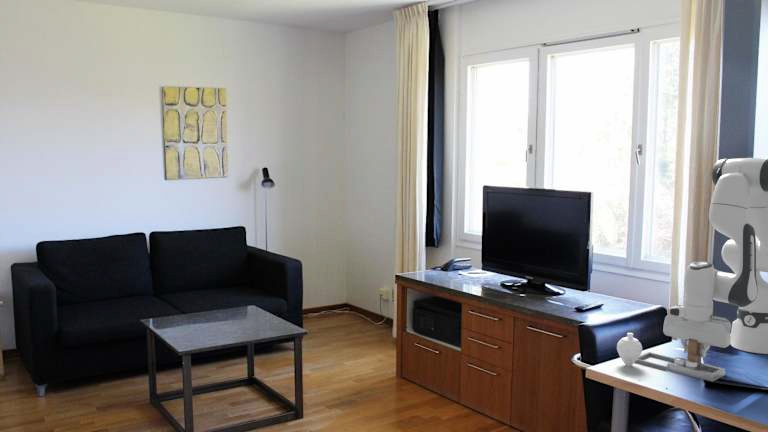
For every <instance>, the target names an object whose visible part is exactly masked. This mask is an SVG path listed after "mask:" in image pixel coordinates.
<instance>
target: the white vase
mask: <svg viewBox="0 0 768 432" xmlns="http://www.w3.org/2000/svg"><path fill="white" fill-rule="evenodd" d="M616 350H617V353H618V356H619V357H620V359H621V360H622V362H623V363H624V365H625V366H626V367H632V366H633V365H634V364H635V361H636V360H637V359H638V358H639V356H640V355H642V352H643V346H642V343H641V342H640V341H639V339H638V338H635V337H634V333H633V332H627V333H626V336H625V337H622V338H621V339H619V341H618V342H617V344H616Z"/></svg>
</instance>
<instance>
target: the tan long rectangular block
mask: <svg viewBox="0 0 768 432" xmlns="http://www.w3.org/2000/svg"><path fill="white" fill-rule="evenodd" d="M687 345H688V353H687V358H686V359H687V360H693V361H696V362H699V363H702V357H701V356H699V351H701V350H703V343H699V342H697V340H694V339H689V340H688V341H687Z"/></svg>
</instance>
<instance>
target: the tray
mask: <svg viewBox="0 0 768 432" xmlns="http://www.w3.org/2000/svg"><path fill="white" fill-rule="evenodd" d="M649 357H651V358H656V359H659V360H663V361H667V362H669V363H674V359H675V358H676V357H671V356H667V355H662V354H658V353H654V352H648V351H647V352H646V353H643V354H641V355H640V356H639V358H638V359H637V360H636V361H635V362H634V364H640V365H643V366H647V367H650V368H655V369H659V370H662V371H668V370H667V365H662V364H659V363H654V362H652V361H648V360H645V359H647V358H649Z"/></svg>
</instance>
